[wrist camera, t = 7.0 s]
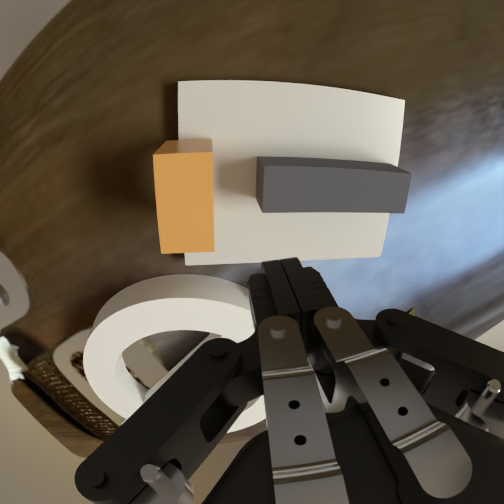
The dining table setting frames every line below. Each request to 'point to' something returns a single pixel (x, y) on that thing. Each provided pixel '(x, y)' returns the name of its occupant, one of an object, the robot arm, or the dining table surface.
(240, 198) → the mat
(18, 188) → the dining table surface
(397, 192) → the long grey rectangular bar
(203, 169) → the orange arch block
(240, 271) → the dining table surface
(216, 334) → the ring with crossbar
